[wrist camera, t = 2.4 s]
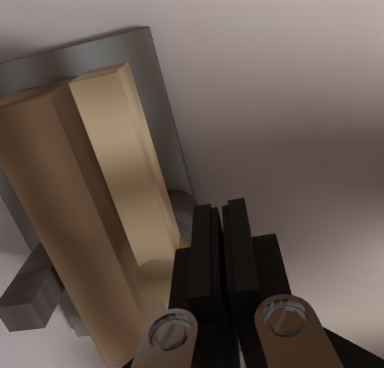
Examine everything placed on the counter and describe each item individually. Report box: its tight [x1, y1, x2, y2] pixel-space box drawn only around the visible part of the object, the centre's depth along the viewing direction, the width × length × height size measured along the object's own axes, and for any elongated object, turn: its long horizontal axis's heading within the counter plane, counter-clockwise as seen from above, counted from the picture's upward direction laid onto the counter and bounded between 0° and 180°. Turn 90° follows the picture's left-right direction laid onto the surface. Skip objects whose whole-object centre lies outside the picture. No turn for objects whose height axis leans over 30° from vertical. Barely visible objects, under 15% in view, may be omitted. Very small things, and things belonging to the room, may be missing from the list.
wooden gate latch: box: [0, 27, 197, 366], centre depth 29 cm, size 16×28×9 cm, turn 13°
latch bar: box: [68, 61, 191, 301], centre depth 22 cm, size 15×4×3 cm, turn 13°
